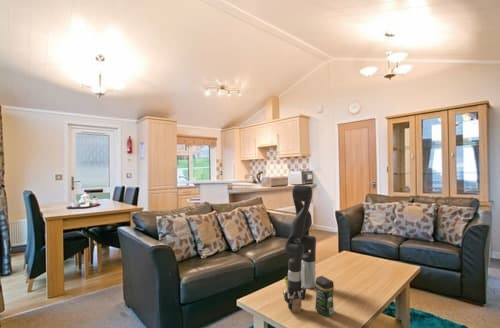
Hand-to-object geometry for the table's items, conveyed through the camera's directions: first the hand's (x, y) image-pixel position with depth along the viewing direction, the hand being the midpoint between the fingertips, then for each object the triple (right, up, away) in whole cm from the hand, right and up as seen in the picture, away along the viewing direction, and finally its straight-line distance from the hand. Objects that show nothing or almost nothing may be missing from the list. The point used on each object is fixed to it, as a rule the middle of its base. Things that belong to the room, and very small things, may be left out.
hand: (294, 308), depth 151 cm
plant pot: (+2, -1, +20) cm, 20 cm away
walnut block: (0, -1, 0) cm, 1 cm away
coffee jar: (+16, -1, -2) cm, 16 cm away
